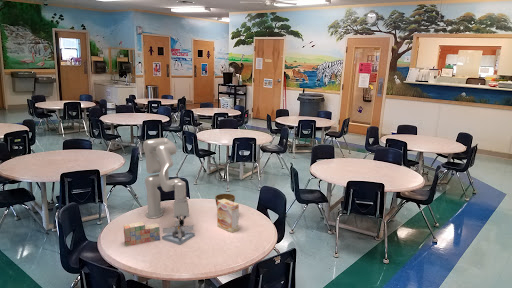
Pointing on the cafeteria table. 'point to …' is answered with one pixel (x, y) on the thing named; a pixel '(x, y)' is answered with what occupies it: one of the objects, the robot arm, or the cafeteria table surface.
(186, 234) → the stand
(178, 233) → the capstan
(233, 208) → the coffeecake box
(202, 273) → the cafeteria table surface
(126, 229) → the stack of blocks
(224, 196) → the plant pot
